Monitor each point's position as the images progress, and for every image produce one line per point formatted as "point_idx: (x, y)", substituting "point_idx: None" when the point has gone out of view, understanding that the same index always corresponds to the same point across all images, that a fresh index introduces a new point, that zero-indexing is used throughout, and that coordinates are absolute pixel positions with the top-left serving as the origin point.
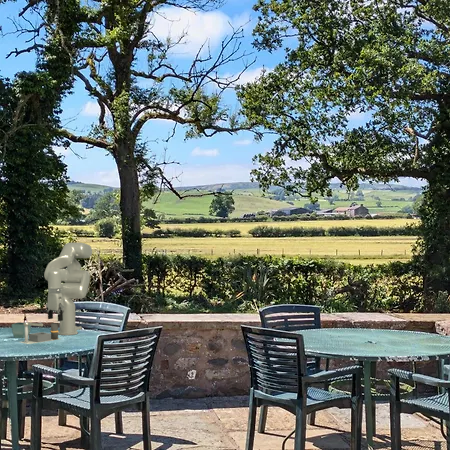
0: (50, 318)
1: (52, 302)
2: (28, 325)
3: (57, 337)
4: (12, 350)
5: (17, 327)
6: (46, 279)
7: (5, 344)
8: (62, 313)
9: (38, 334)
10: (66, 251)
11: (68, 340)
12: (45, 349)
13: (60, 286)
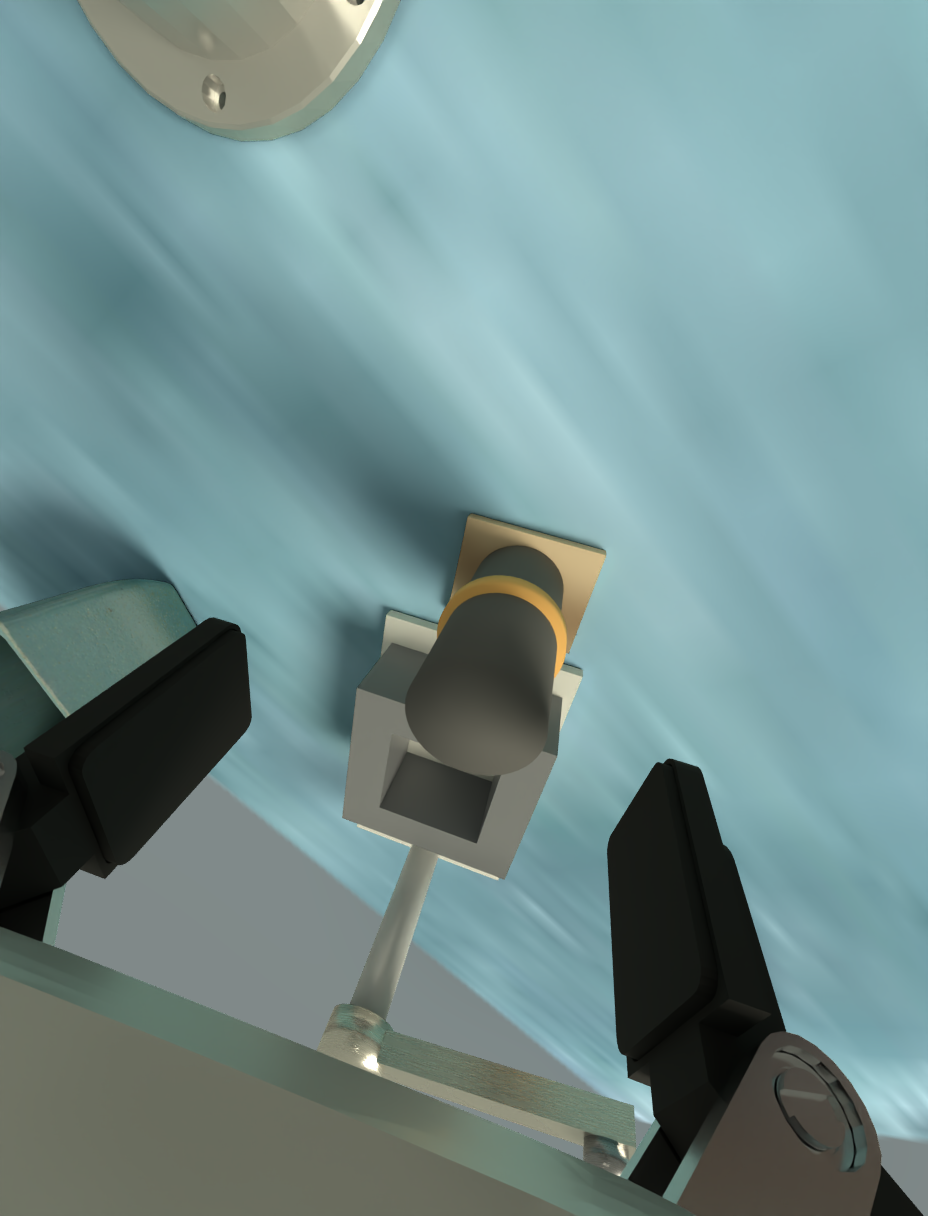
0: (243, 694)
1: None
2: (81, 684)
3: (561, 592)
4: (558, 1022)
5: None
6: None
7: (332, 870)
8: (829, 1112)
9: (393, 750)
10: None
11: (738, 541)
12: (787, 1003)
13: None
